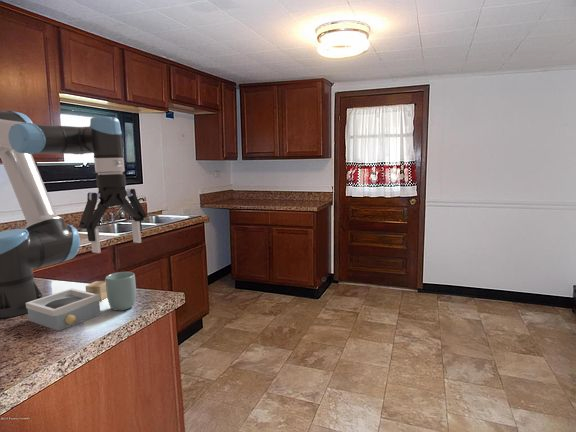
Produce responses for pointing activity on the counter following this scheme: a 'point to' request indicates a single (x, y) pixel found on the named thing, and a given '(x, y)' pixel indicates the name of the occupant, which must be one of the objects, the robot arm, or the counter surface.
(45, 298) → the grey drawer box
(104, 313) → the counter surface
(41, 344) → the counter surface
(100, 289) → the oak block
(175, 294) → the counter surface
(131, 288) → the cup
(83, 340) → the counter surface
